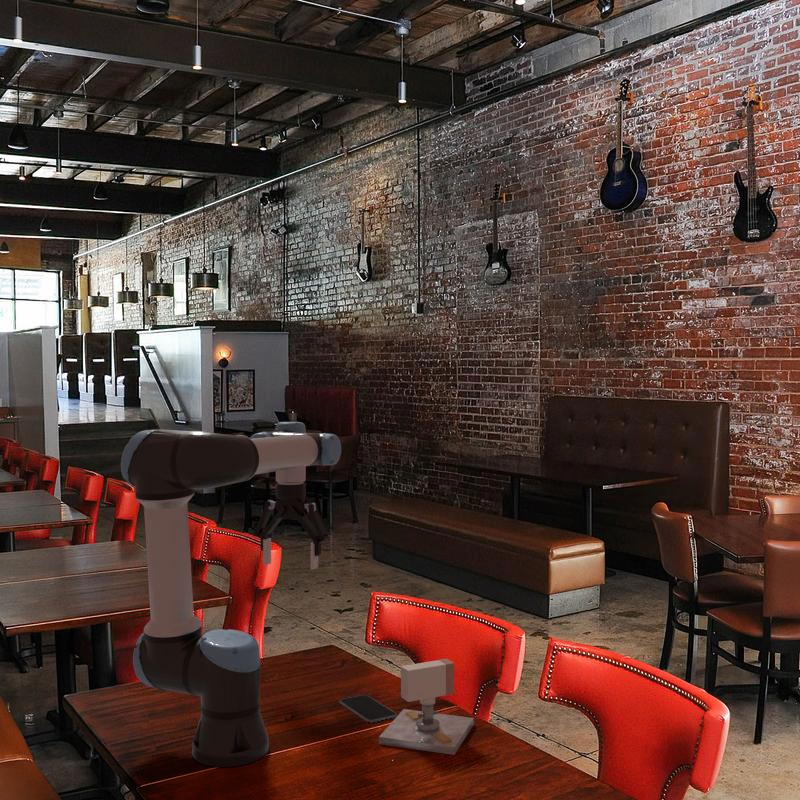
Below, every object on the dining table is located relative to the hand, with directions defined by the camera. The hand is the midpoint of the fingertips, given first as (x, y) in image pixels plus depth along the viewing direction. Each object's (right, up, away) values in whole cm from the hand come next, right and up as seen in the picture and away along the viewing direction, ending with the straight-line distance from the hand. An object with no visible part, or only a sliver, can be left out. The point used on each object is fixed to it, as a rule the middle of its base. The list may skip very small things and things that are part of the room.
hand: (290, 566), depth 223 cm
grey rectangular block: (+34, -22, -38) cm, 55 cm away
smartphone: (+20, -29, -24) cm, 42 cm away
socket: (+34, -28, -38) cm, 58 cm away
